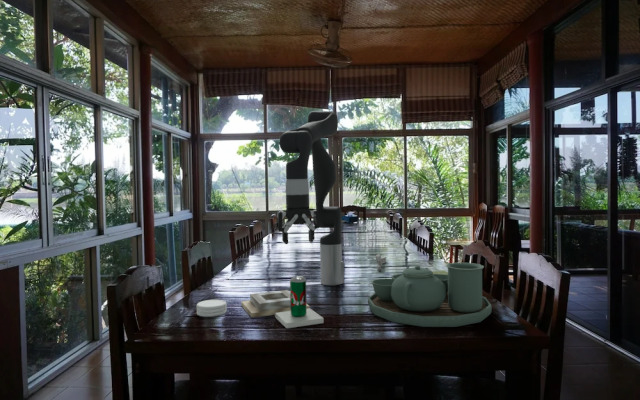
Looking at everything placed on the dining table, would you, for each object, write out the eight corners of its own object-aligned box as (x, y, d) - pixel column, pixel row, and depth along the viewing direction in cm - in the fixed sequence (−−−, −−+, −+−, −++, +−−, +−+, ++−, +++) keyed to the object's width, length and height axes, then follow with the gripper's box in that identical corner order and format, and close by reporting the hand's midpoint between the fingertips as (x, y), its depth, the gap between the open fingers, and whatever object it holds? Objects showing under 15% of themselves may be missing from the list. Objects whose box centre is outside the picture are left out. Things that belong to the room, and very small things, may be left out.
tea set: (478, 296, 164) (477, 252, 164) (502, 332, 125) (502, 274, 124) (371, 293, 172) (371, 251, 171) (363, 326, 132) (362, 272, 132)
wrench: (386, 267, 240) (379, 271, 211) (382, 267, 240) (375, 271, 212) (386, 252, 241) (379, 254, 212) (382, 252, 241) (375, 254, 212)
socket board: (294, 299, 164) (294, 288, 164) (309, 310, 150) (309, 298, 149) (241, 305, 157) (241, 294, 157) (251, 317, 142) (251, 305, 142)
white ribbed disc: (193, 311, 151) (193, 301, 151) (221, 307, 156) (221, 297, 156) (201, 319, 142) (200, 308, 142) (230, 314, 147) (230, 303, 147)
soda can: (306, 312, 141) (305, 275, 141) (307, 317, 136) (306, 279, 136) (290, 313, 141) (289, 276, 141) (290, 317, 136) (290, 279, 136)
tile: (309, 312, 146) (309, 308, 146) (323, 322, 135) (323, 318, 135) (275, 317, 142) (275, 312, 142) (286, 328, 131) (286, 323, 131)
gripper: (279, 194, 136) (281, 246, 137) (322, 192, 141) (323, 242, 142) (273, 193, 143) (274, 243, 144) (313, 192, 148) (314, 239, 149)
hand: (298, 242), depth 143 cm, fingers open, 8 cm apart
